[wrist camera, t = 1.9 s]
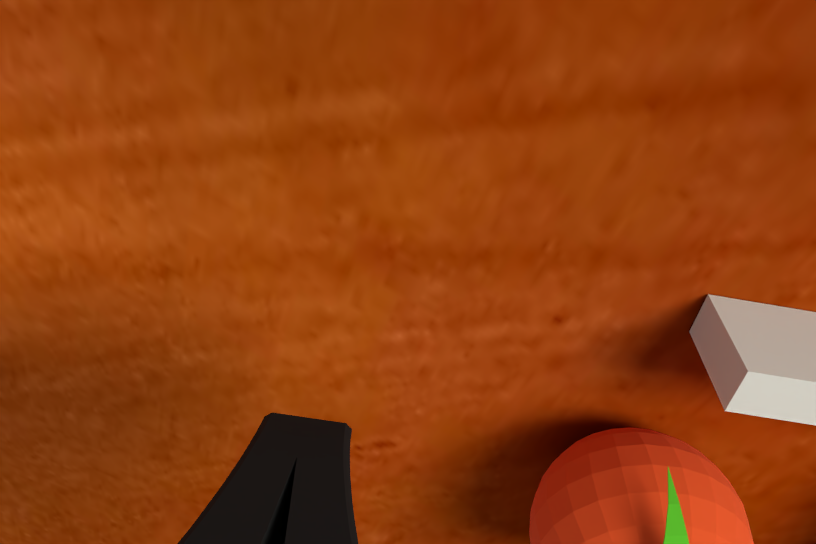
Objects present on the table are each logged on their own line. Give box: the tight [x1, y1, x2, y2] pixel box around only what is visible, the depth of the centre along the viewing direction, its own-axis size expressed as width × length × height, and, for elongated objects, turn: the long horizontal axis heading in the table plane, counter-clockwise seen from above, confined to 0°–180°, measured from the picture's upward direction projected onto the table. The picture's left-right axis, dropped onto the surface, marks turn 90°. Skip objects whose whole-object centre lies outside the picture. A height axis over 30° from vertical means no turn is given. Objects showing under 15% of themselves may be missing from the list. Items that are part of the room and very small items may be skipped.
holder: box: [689, 294, 816, 425], centre depth 24 cm, size 14×12×4 cm
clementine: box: [529, 427, 754, 544], centre depth 22 cm, size 8×7×7 cm
